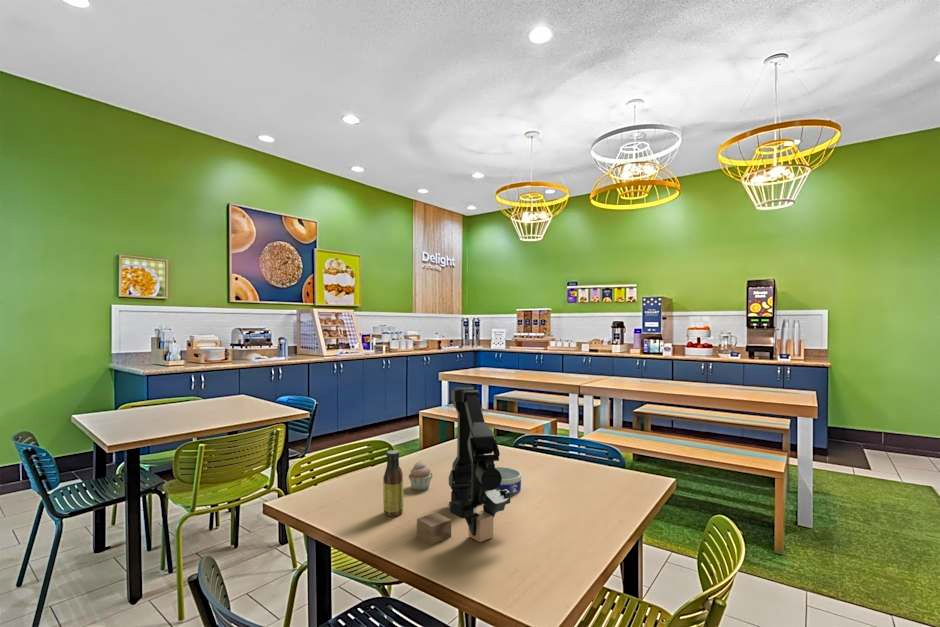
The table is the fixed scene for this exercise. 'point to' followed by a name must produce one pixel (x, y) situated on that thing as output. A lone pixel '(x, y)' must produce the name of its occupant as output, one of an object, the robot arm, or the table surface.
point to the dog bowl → (510, 480)
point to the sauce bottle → (393, 485)
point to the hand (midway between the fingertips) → (480, 532)
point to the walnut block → (434, 528)
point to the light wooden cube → (483, 527)
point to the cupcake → (420, 476)
